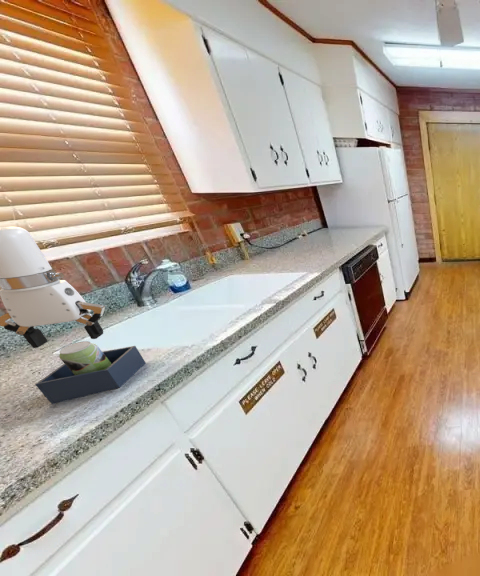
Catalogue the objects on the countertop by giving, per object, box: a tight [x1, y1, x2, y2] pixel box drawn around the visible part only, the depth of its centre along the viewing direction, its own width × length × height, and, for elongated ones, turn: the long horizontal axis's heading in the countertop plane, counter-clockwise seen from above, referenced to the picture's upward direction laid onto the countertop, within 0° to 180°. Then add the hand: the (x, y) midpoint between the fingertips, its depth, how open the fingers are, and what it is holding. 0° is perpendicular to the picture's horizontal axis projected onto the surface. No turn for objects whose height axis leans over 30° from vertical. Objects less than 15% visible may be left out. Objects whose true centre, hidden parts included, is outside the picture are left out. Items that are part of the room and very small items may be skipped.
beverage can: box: [58, 340, 111, 375], centre depth 80 cm, size 6×7×12 cm
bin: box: [34, 345, 147, 405], centre depth 81 cm, size 12×12×7 cm
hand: (70, 340), depth 76 cm, fingers open, 9 cm apart
